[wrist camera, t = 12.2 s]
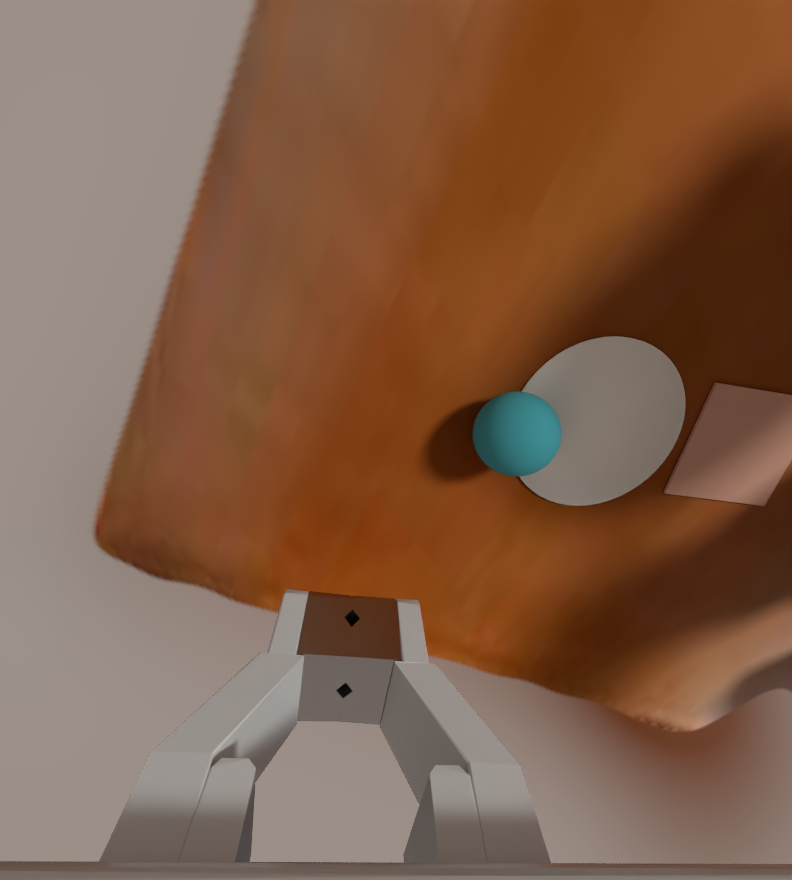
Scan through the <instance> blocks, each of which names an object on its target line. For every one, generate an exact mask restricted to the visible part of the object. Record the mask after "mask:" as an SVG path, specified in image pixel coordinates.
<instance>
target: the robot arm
mask: <svg viewBox="0 0 792 880" xmlns="http://www.w3.org/2000/svg"><path fill="white" fill-rule="evenodd" d="M297 721H341V722H354V723H366V724H379V725H380V728H381V730H382V732H383V734H384V736H385V738H386V739H387V742H388V744H389V746H390V747H391V750H392V751H393V754H394V755H395V757H396V759H397V761H398V763H399V765H400V767H401V769H402V771H403V773H404V775H405V777H406V779H407V781H408V783H409V785H410V787H411V788H412V791H413V793H414V795H415V796H416V799H417V801H418V803H419V804H420V806H419V809H418V812H417V815H416V818H415V821H414V824H413V827H412V830H411V834H410V837H409V840H408V843H407V846H406V849H405V852H404V863H341V862H340V863H339V862H336V863H334V862H331V863H330V862H323V863H322V862H313V863H312V862H249V861H250V856H251V844H252V827H253V810H254V794H255V782H256V781H257V779H258V778H259V776H260V775H261V773H262V772H263V771H264V769H265V768H266V766H267V765H268V764H269V762H270V761H271V760H272V758H273V756H274V755H275V754H276V752H277V751H278V750H279V748H280V747H281V745H282V744H283V743H284V741H285V740H286V738H287V737H288V736H289V734H290V733H291V731H292V730H293V729H294V727H295V726H296V724H297ZM0 880H792V864H595V863H579V864H578V863H573V864H572V863H551V862H550V859H549V855H548V852H547V849H546V846H545V843H544V839H543V836H542V833H541V830H540V826H539V823H538V820H537V817H536V814H535V811H534V807H533V804H532V801H531V798H530V794H529V791H528V788H527V785H526V781H525V778H524V775H523V772H522V769H521V766H520V765H519V763H518V762H517V761H516V760H515V758H514V757H513V756H512V755H511V754H510V753H509V751H508V750H507V749H506V748H505V746H504V745H503V744H502V743H501V742H500V740H499V739H498V738H497V737H496V736H495V735H494V733H493V732H492V731H491V730H490V729H489V727H488V726H487V725H486V724H485V723H484V721H483V720H482V719H481V718H480V717H479V715H478V714H477V713H476V712H475V710H474V709H473V708H472V707H471V706H470V704H469V703H468V702H467V701H466V700H465V698H464V697H463V696H462V695H461V694H460V692H459V691H458V690H457V689H456V688H455V686H454V685H453V684H452V683H451V682H450V680H448V678H447V677H446V676H445V674H444V673H443V672H442V671H441V670H440V668H439V667H438V666H437V665H436V664H432V663H429V661H428V655H427V648H426V642H425V636H424V629H423V623H422V617H421V610H420V604H419V602H418V601H417V600H408V599H396V600H395V599H391V598H378V597H364V596H349V595H340V594H331V593H321V592H312V591H310V592H307V591H298V590H289V589H286V591H285V593H284V595H283V599H282V602H281V606H280V609H279V613H278V616H277V620H276V624H275V627H274V631H273V634H272V638H271V642H270V645H269V649H268V652H267V653H259V654H258V655H257V656H256V657H255V658H254V659H252V660H251V661H250V662H249V663H248V664H247V665H246V666H245V667H244V668H242V669H241V670H240V671H239V672H238V673H237V674H236V675H235V676H234V677H233V678H231V680H229V681H228V682H227V683H226V684H225V685H224V686H223V687H222V688H221V689H219V690H218V691H217V692H216V693H215V694H214V695H213V696H212V697H211V698H210V699H208V701H206V702H205V703H204V704H203V705H202V706H201V707H200V708H199V709H198V710H196V711H195V712H194V713H193V714H192V715H191V716H190V717H189V718H188V719H187V720H186V721H184V722H183V723H182V724H181V725H180V726H179V727H178V728H177V729H176V730H175V731H174V732H172V733H171V734H170V735H169V736H168V737H167V738H166V739H165V740H164V741H163V742H161V743H160V744H159V745H158V746H157V747H156V748H155V749H154V750H153V751H152V752H151V753H150V755H149V757H148V759H147V761H146V764H145V765H144V768H143V770H142V772H141V774H140V776H139V778H138V780H137V782H136V785H135V787H134V789H133V791H132V793H131V795H130V797H129V799H128V802H127V804H126V806H125V808H124V810H123V812H122V814H121V816H120V818H119V821H118V823H117V825H116V827H115V829H114V831H113V833H112V835H111V838H110V840H109V842H108V844H107V846H106V848H105V850H104V852H103V855H102V856H101V859H100V861H99V862H23V861H21V862H20V861H18V862H16V861H14V862H13V861H7V862H6V861H0Z"/></svg>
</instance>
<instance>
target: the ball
mask: <svg viewBox="0 0 792 880" xmlns="http://www.w3.org/2000/svg"><path fill="white" fill-rule="evenodd" d="M561 436H562V432H561V425H560V421H559V418H558V416H557V414H556V412H555V411H554V409H553V408H552V407H551V406H550V405H549V404H548V403H547V402H546V401H545V400H543V399H542V398H540V397H538V396H536V395H534V394H531V393H527V392H519V391H515V392H507V393H504V394H501V395H499V396H496V397H494V398H493V399H491V400H490V401H489V402H487V403H486V404H485V405H484V406H483V407H482V409H481V410H480V411H479V413H478V415H477V417H476V419H475V422H474V426H473V442H474V446H475V449H476V451H477V453H478V455H479V457H480V458H481V459H482V461H483V462H484V463H485V464H486V465H487V466H488V467H490V468H491V469H493V470H494V471H496V472H498V473H501V474H504V475H508V476H526V475H530V474H533V473H536V472H538V471H540V470H541V469H543V468H544V467H546V466H547V465H548V464H549V463H550V462H551V461H552V459H553V458H554V457H555V455H556V453H557V452H558V449H559V447H560V443H561Z"/></svg>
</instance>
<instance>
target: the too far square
mask: <svg viewBox="0 0 792 880" xmlns="http://www.w3.org/2000/svg"><path fill="white" fill-rule="evenodd" d="M791 460H792V395H789V394H783V393H777V392H771V391H765V390H758V389H752V388H746V387H740V386H734V385H728V384H722V383H716V382H715V383H714V385H713V387H712V389H711V391H710V393H709V395H708V397H707V400H706V402H705V404H704V406H703V408H702V410H701V412H700V415H699V417H698V419H697V421H696V423H695V425H694V427H693V429H692V432H691V434H690V436H689V438H688V440H687V442H686V444H685V447H684V449H683V451H682V453H681V455H680V457H679V459H678V461H677V464H676V466H675V468H674V470H673V472H672V474H671V476H670V479H669V481H668V483H667V485H666V487H665V489H664V491H663V493H665V494H672V495H680V496H688V497H696V498H704V499H712V500H720V501H728V502H736V503H744V504H752V505H760V506H765V504H766V503H767V501H768V499H769V498H770V496H771V494H772V493H773V491H774V489H775V487H776V486H777V484H778V482H779V481H780V479H781V477H782V475H783V474H784V472H785V470H786V469H787V467H788V465H789V463H790V462H791Z"/></svg>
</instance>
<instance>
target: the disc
mask: <svg viewBox="0 0 792 880" xmlns="http://www.w3.org/2000/svg"><path fill="white" fill-rule="evenodd" d="M521 392H527V393H531V394H534V395H536V396H538V397H540V398H542V399H543V400H545V401H546V402H547V403H548V404H549V405H550V406H551V407H552V408H553V409H554V411H555V412H556V414H557V416H558V418H559V421H560V425H561V432H562V436H561V443H560V447H559V449H558V452H557V453H556V455H555V457H554V458H553V459H552V461H551V462H550V463H549V464H548V465H547V466H546V467H544V468H543V469H541V470H540V471H538V472H536V473H533V474H530V475H526V476H519V477H520V479H521V480H522V481H523V482H524V484H525V485H526V486H527V487H528V488H530V489H531V490H532V491H533V492H535V493H536V494H537V495H539V496H541V497H543V498H545V499H547V500H549V501H552V502H555V503H559V504H564V505H574V506H582V505H592V504H598V503H602V502H606V501H609V500H612V499H614V498H617V497H619V496H621V495H623V494H625V493H627V492H629V491H631V490H632V489H634V488H636V487H637V486H639V485H640V484H641V483H643V482H644V481H645V480H646V479H648V478H649V477H650V476H651V475H652V474H653V473H654V472H655V471H656V470H657V469H658V468H659V467H660V466H661V464H662V463H663V462H664V461H665V459H666V458H667V457H668V455H669V454H670V452H671V451H672V449H673V447H674V445H675V443H676V441H677V439H678V437H679V434H680V432H681V429H682V425H683V421H684V416H685V391H684V386H683V382H682V379H681V376H680V374H679V372H678V370H677V368H676V367H675V365H674V364H673V363H672V361H671V360H670V359H669V358H668V357H667V356H666V355H665V354H664V353H663V352H662V351H660V350H659V349H657V348H656V347H654V346H653V345H651V344H648V343H646V342H644V341H641V340H637V339H633V338H629V337H620V336H609V337H600V338H594V339H590V340H587V341H583V342H580V343H578V344H575V345H573V346H571V347H569V348H567V349H565V350H563V351H562V352H560V353H558V354H557V355H555V356H554V357H552V358H551V359H550V360H548V361H547V362H546V363H545V364H544V365H543V366H542V367H540V368H539V369H538V370H537V371H536V372H535V373H534V375H533V376H532V377H531V378H530V379H529V381H528V382H527V383H526V385H525V386H524V388H523V389H522V391H521Z"/></svg>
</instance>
